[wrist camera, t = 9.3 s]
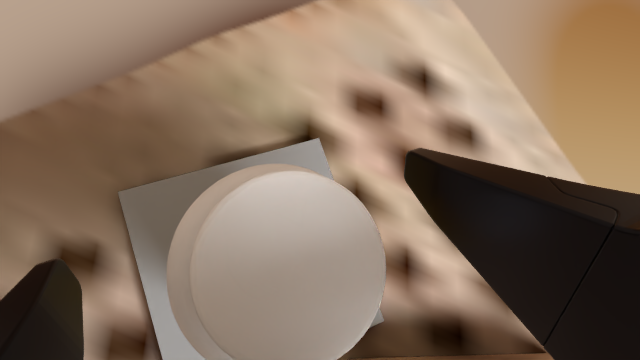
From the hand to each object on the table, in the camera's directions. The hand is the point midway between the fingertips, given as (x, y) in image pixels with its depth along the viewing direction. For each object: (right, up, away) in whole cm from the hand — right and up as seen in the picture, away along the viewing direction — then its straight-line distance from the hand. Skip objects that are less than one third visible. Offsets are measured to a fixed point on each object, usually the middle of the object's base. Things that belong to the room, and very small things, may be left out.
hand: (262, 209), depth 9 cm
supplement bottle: (-1, -3, +8) cm, 8 cm away
